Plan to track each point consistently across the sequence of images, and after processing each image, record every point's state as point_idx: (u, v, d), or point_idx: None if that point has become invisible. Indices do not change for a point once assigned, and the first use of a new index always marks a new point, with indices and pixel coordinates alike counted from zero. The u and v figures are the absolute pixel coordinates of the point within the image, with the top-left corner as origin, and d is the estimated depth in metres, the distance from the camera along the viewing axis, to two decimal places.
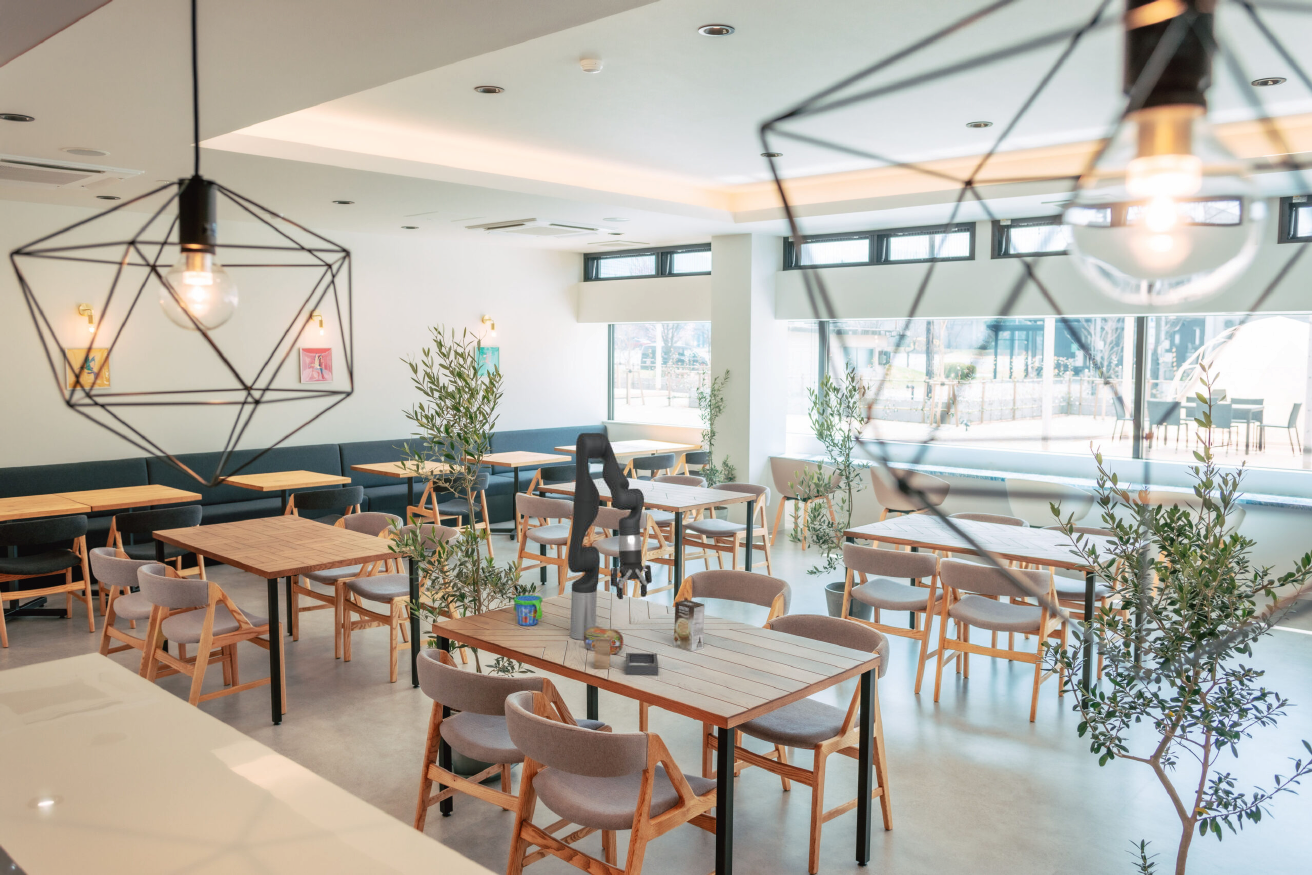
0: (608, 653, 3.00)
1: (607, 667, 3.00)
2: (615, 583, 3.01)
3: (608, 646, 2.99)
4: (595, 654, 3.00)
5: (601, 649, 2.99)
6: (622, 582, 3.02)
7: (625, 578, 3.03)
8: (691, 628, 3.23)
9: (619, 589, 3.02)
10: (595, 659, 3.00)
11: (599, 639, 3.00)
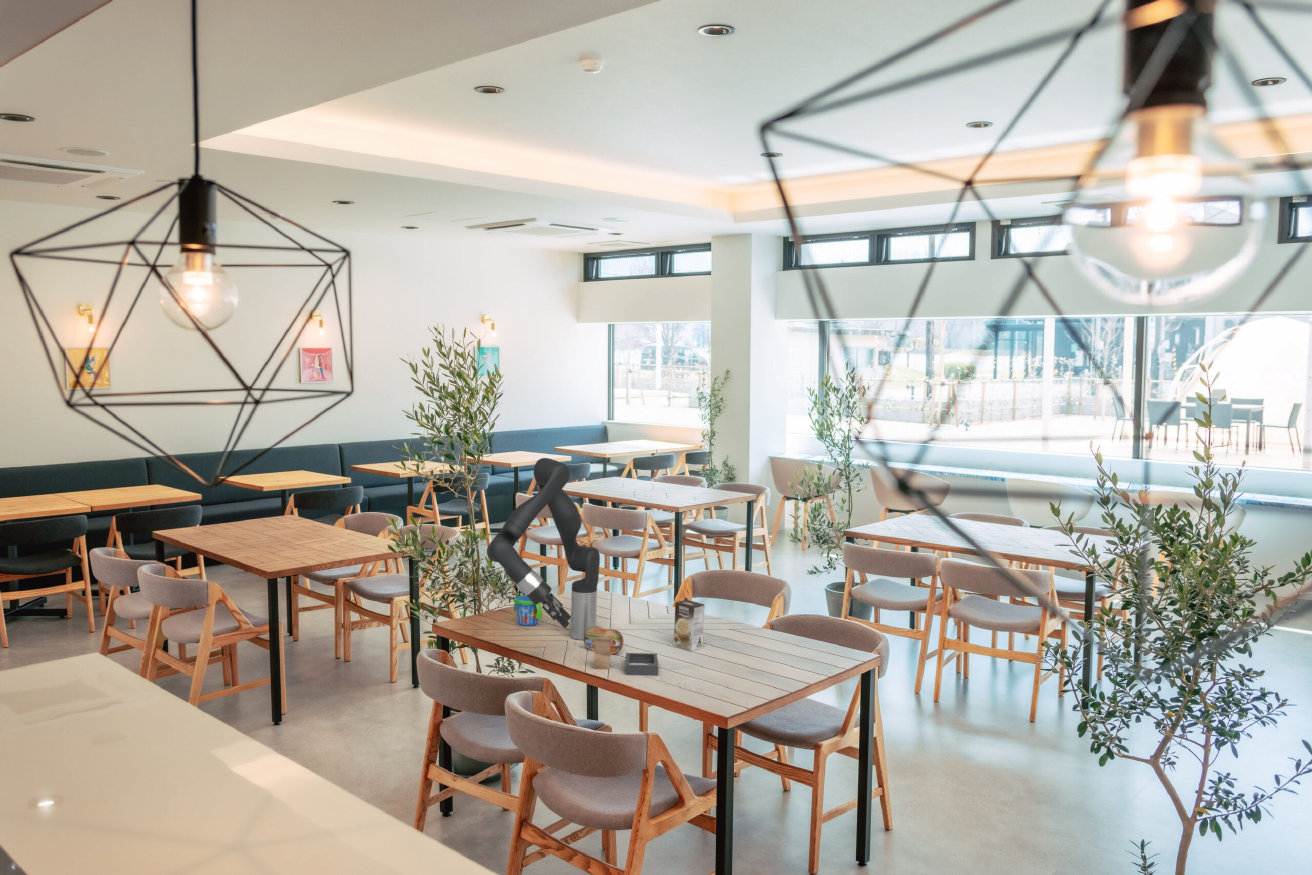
0: (608, 653, 3.00)
1: (607, 667, 3.00)
2: None
3: (608, 646, 2.99)
4: (595, 654, 3.00)
5: (601, 649, 2.99)
6: None
7: None
8: (691, 628, 3.23)
9: None
10: (595, 659, 3.00)
11: (599, 639, 3.00)
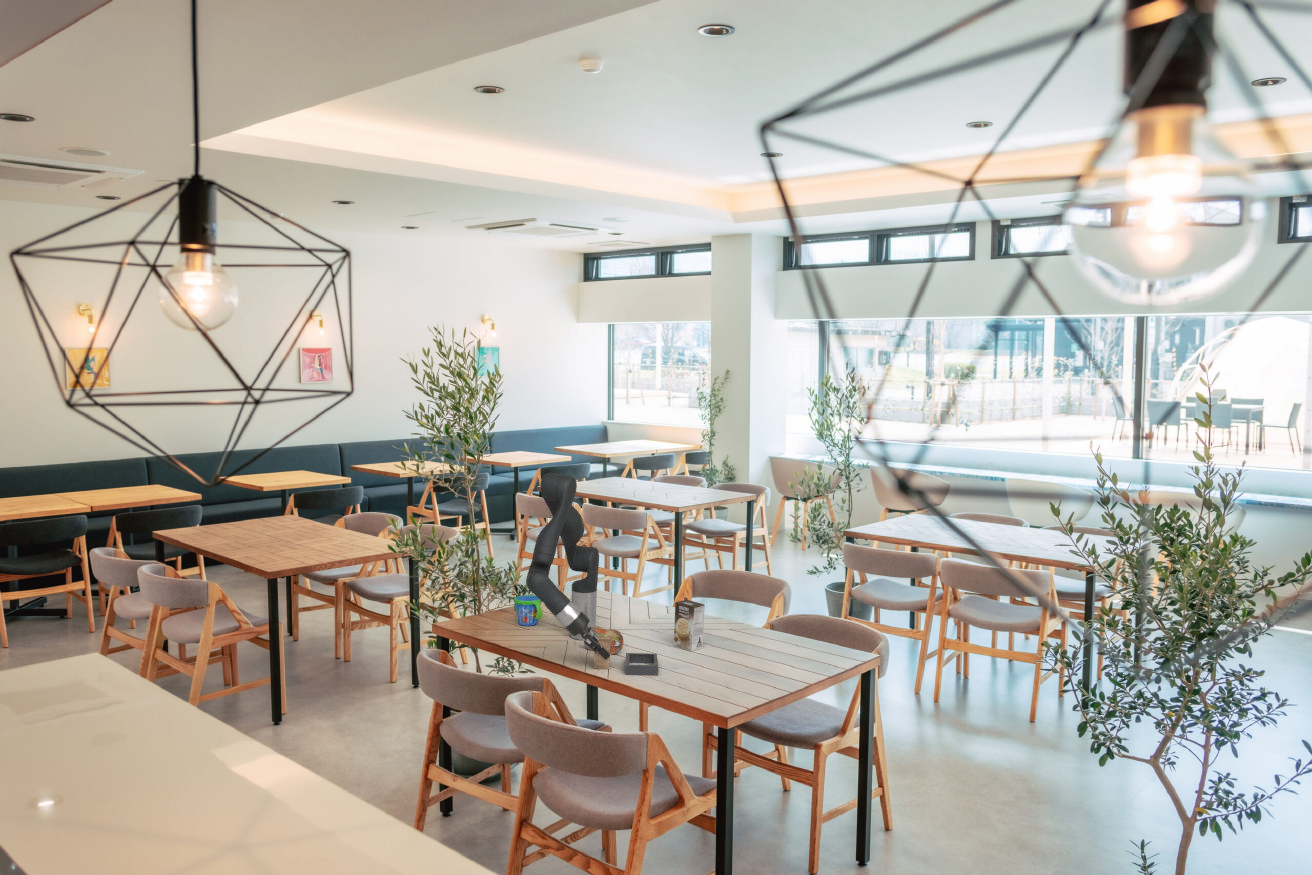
0: None
1: (607, 667, 3.00)
2: None
3: (608, 646, 2.99)
4: (595, 654, 2.99)
5: None
6: None
7: None
8: (691, 628, 3.23)
9: None
10: (595, 659, 3.00)
11: (599, 639, 3.00)
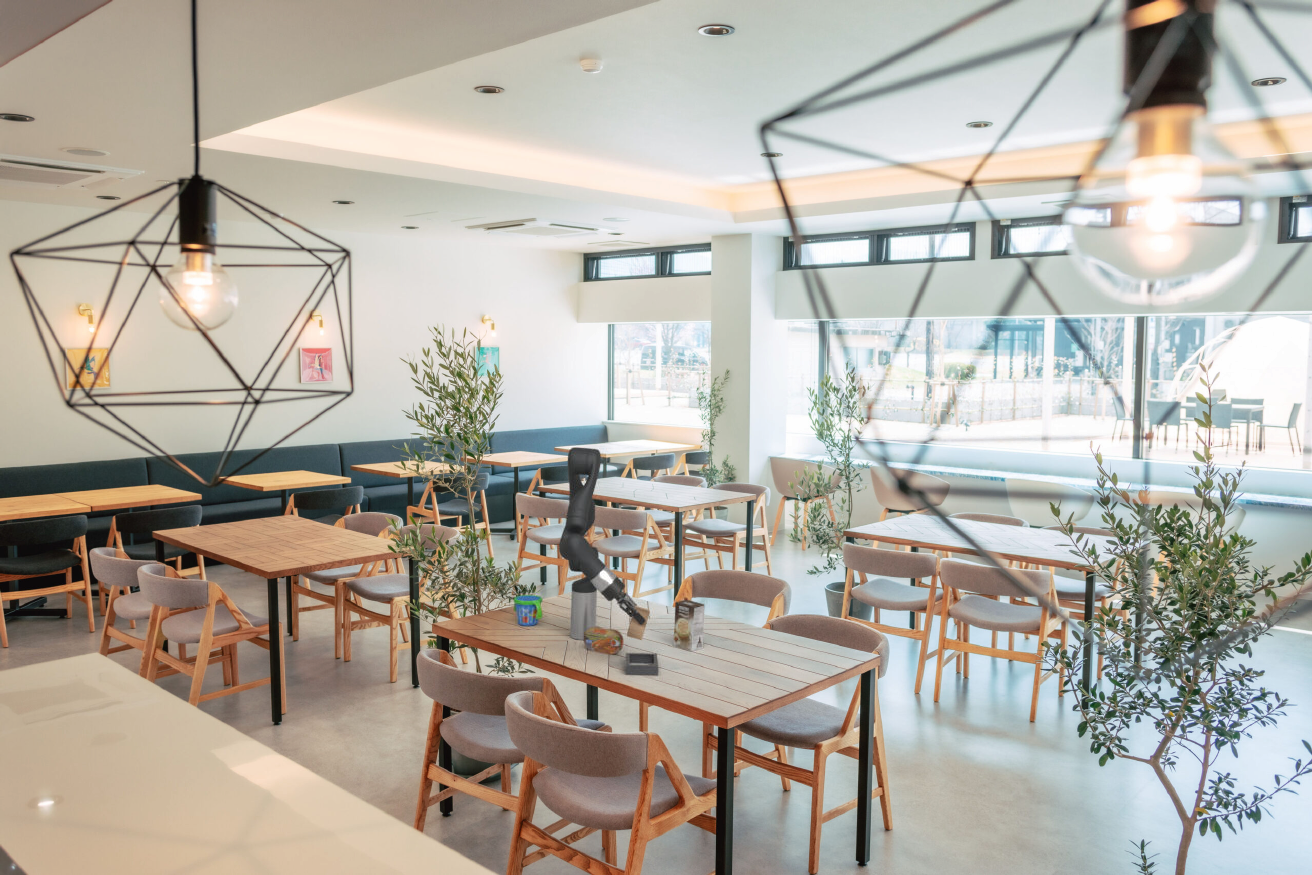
0: (644, 624, 2.99)
1: (640, 637, 2.99)
2: None
3: (646, 617, 2.99)
4: (632, 622, 2.99)
5: None
6: None
7: None
8: (691, 628, 3.23)
9: None
10: (630, 627, 2.99)
11: (639, 608, 3.00)
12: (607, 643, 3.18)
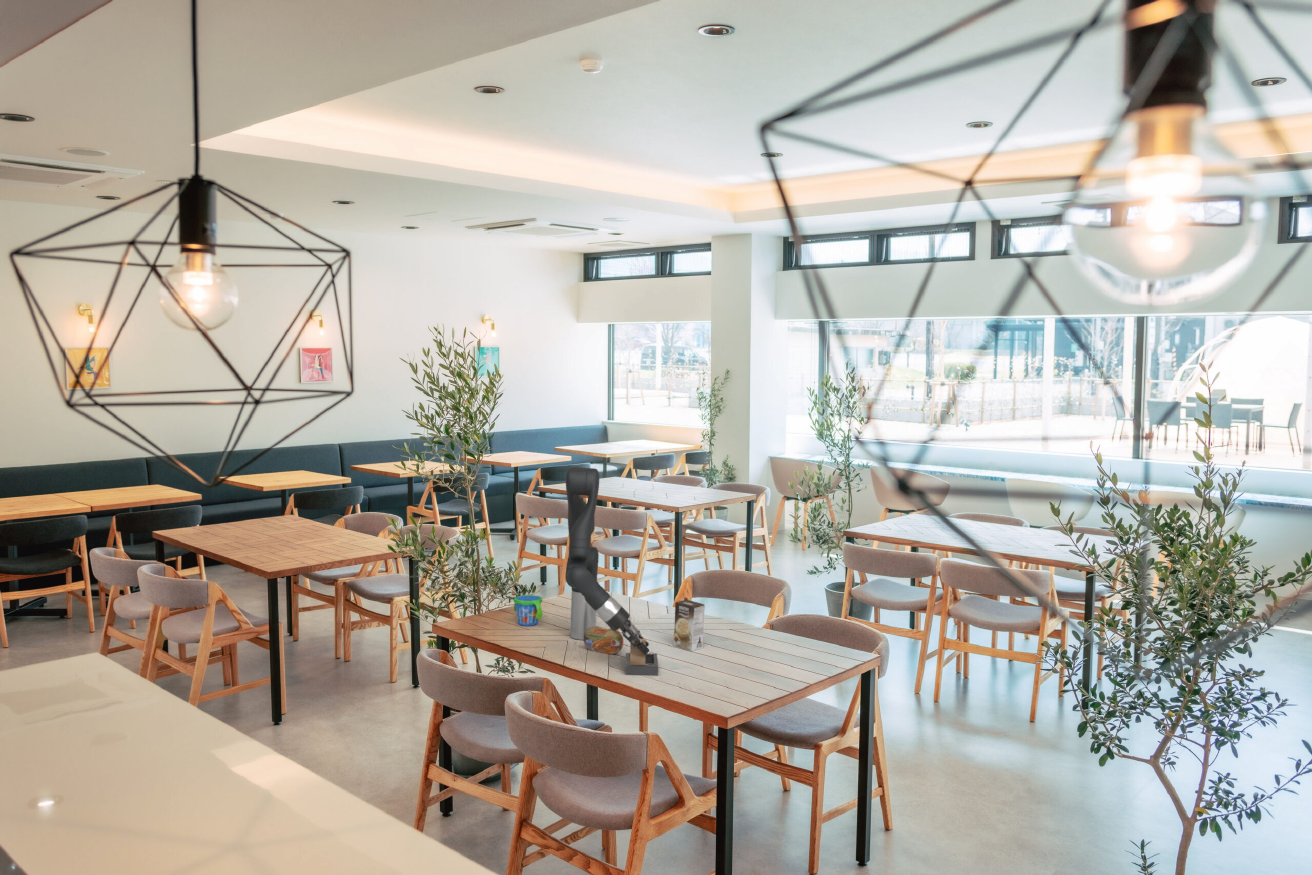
0: None
1: None
2: None
3: None
4: (631, 655, 3.00)
5: (637, 650, 3.00)
6: None
7: None
8: (691, 628, 3.23)
9: None
10: (631, 660, 3.00)
11: (635, 640, 3.01)
12: (607, 642, 3.18)
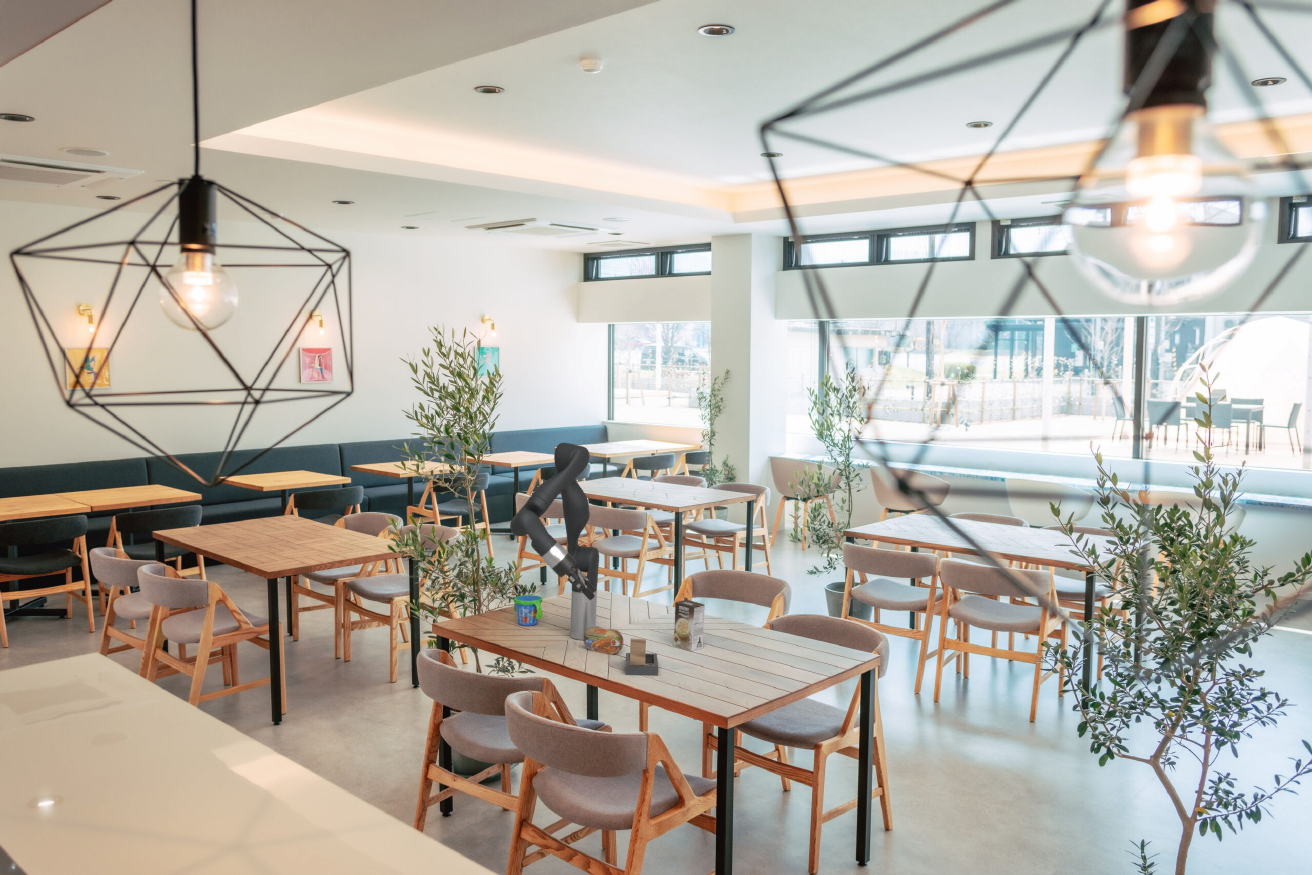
0: (644, 654, 3.00)
1: None
2: None
3: (644, 647, 3.00)
4: (631, 655, 3.00)
5: (637, 650, 3.00)
6: None
7: None
8: (691, 628, 3.23)
9: None
10: (631, 660, 3.00)
11: (635, 640, 3.01)
12: (607, 642, 3.18)
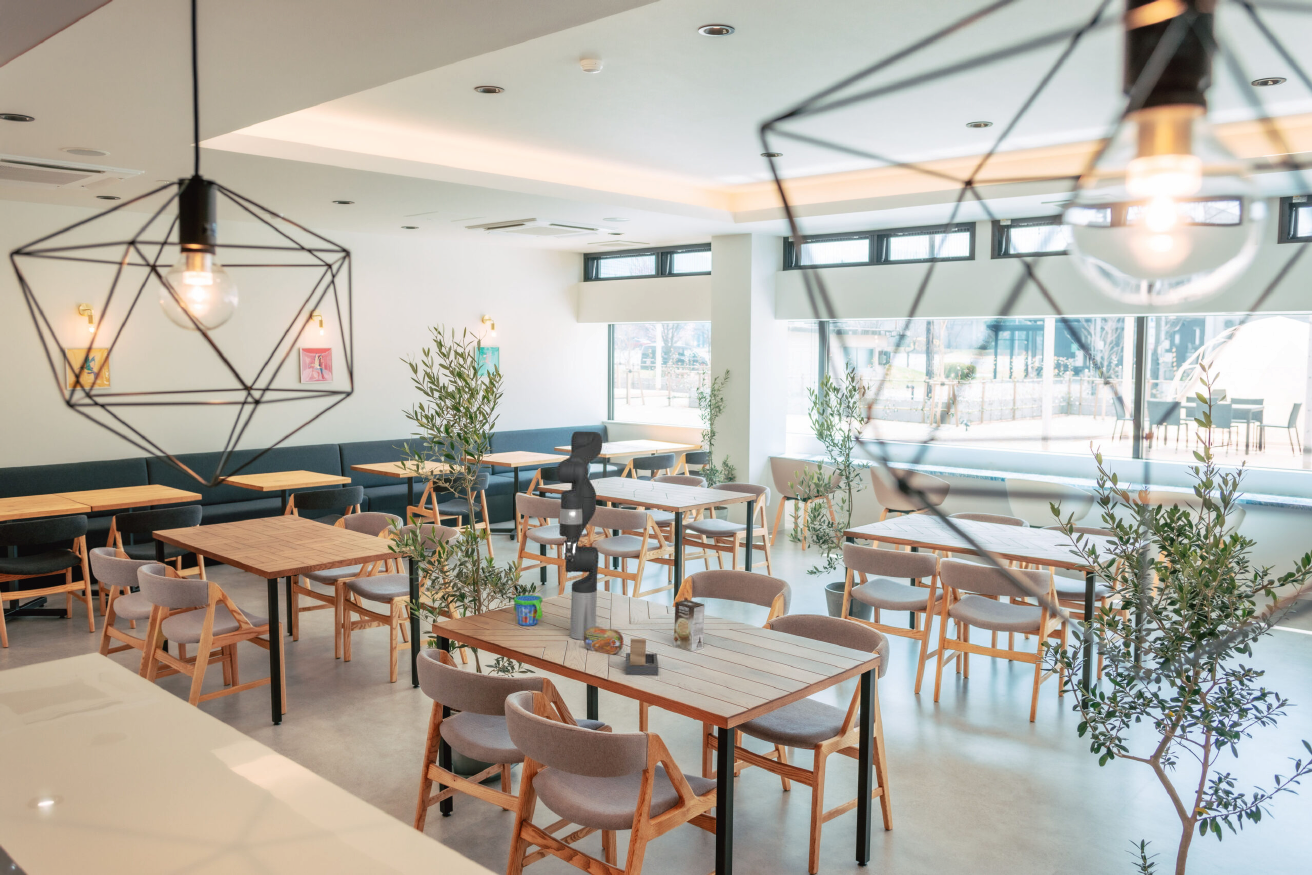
0: (644, 654, 3.00)
1: None
2: None
3: (644, 647, 3.00)
4: (631, 655, 3.00)
5: (637, 650, 3.00)
6: None
7: None
8: (691, 628, 3.23)
9: None
10: (631, 660, 3.00)
11: (635, 640, 3.01)
12: (607, 642, 3.18)
